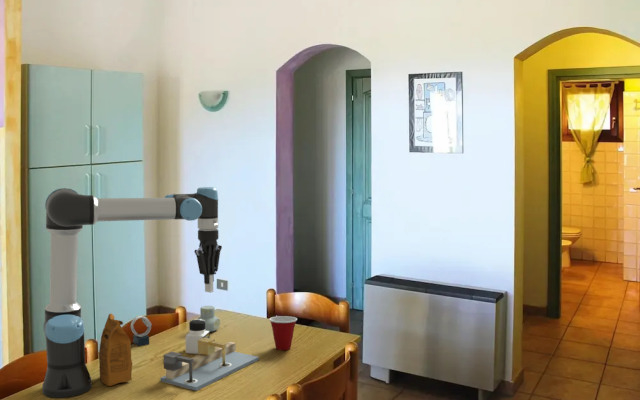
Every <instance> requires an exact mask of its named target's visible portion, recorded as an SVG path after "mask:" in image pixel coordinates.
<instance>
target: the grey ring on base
mask: <svg viewBox="0 0 640 400" xmlns="http://www.w3.org/2000/svg"><path fill="white" fill-rule="evenodd" d="M139 319H141V321H142V322H143V324H144V325H145V326H146V330H145V332H143V333H138V332H137V331H136V330H135V325H134V324H135V323H136V321H137V320H139ZM151 329H152V322H151V321H150V320H149V318H148V317H146V315H143V316H142V315H139V316H135V317H134V318H133V319H132V320H131V322H130V330H131V332H132V333H133V334H134V335H132V337H133V338H132V340H133V342H132V343H133V344H134V345H136V346H138V347H143V346H147V345H150V336H149V335H148V334H149V333H150V332H151Z"/></svg>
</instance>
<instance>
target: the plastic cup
mask: <svg viewBox="0 0 640 400" xmlns="http://www.w3.org/2000/svg"><path fill="white" fill-rule="evenodd" d="M297 321H298V318H297V317H295V316H289V315H288V316H287V315H285V316H284V315H281V316H280V315H277V316H272V317H270V318H269V322H270V325H271V328H272V329H271V330H272V335H273V340H274V346H275V349H276V350H278V351H288V350H291V348H292V341H293V338H294V331H295V327H296V322H297Z"/></svg>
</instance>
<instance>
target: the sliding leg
mask: <svg viewBox="0 0 640 400" xmlns="http://www.w3.org/2000/svg"><path fill="white" fill-rule="evenodd" d="M216 347H219V348H222V365H225V348H226V342H225V343H223V342H220V341H216V339H215V338H211V337H210V338H206V337H205V338H202V339H200V340H198V353H199V354H198V355H200V354H203V355H210V354H212V353H215V348H216Z"/></svg>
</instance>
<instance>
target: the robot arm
mask: <svg viewBox="0 0 640 400" xmlns="http://www.w3.org/2000/svg"><path fill="white" fill-rule="evenodd" d="M44 204H45V205H44V208H45V213H46V216H45V229H46V230H47V231H48V232H49V233H50V259H49V260H50V267H49V269H50V271H49V273H50V274H49V303H48V304H47V305H46V306H45V307H44V322H43V334H44V336H45V346H46V347H45V348H46V363H47V365H46V367H47V368H46V372H45V376H44V381H43V383H42V386H41V388H42V394H43V395H44V396H46V397H47V398H49V397H50V398H59V399H60V398H61V399H62V398H63V399H65V398H70V397H76V396H80V395H82V394H84V393H86V392H88V391H90V390H91V389H92V387H93V385H92V376H91V374H90V372H89V370H88V367H87V365H86V351H85V350H86V349H85V346H86V345H85V323H84V320H83V319H82V305H80V303H79V302H77V295H78V293H77V292H78V291H77V290H78V289H77V288H78V286H77V285H78V279H77V278H78V242H79V241H78V237H79V233H80V232H81V231H82V230H83V227H84V226H90V225H91V226H93V225H96V223H98V222H123V221H124V222H127V221H132V222H133V221H157V220H158V221H159V220H160V221H161V220H163V221H164V220H185V221H195V220H197V229H198V230H197V239H198V241H199V244H198V249H194V255H195V256H196V261H197V267H198V270H199V274H201V275H203V282H204V292H205V293H213V292H214V281H215V280H214V279H215V278H214V277H215V275H216V274H217V272H218V271H219V263H220V255H221V251H222V248H223V247H222V245H219V244H218V240H219V230H218V228H219V193H218V189H217V188H216V187H213V186H212V187H211V186H204V187H198V188H197V189H196V192H194V193H172V194H166V195H165V196H164V197H123V198H122V197H121V198H120V197H114V198H113V197H110V198H109V197H108V198H107V197H105V198H100V197H99V198H98V197H96V196H95V194H94V195H93V194H92V195H91V194H90V195H86V194H81V193H80V194H79V193H78V192H77V191H76V190H74V189H73V188H67V187H66V188H65V187H64V188H63V187H62V188H57V189H55V190H53V191H52V192H50V194H48V196H47V198H46V199H45V203H44Z"/></svg>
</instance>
